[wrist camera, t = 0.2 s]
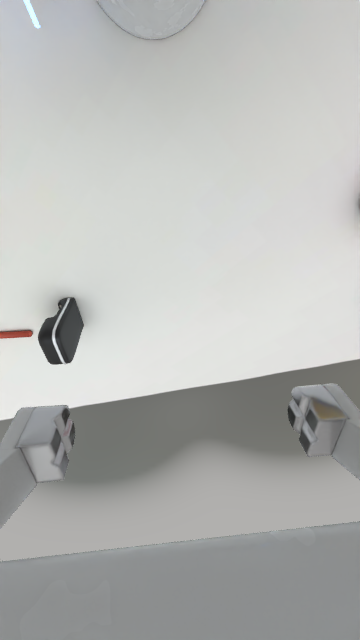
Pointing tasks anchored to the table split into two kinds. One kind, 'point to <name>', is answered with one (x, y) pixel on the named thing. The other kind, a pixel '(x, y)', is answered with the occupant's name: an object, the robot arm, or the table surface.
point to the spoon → (15, 334)
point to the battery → (61, 333)
